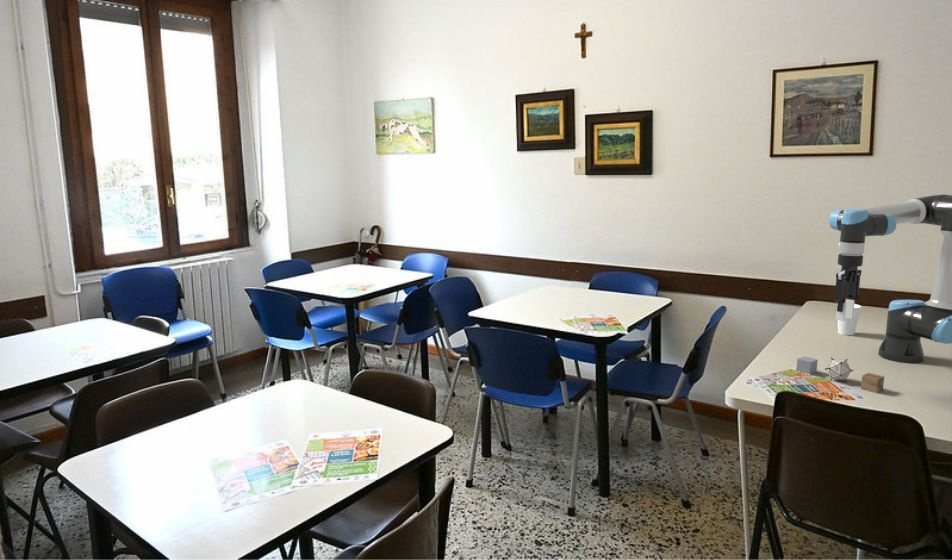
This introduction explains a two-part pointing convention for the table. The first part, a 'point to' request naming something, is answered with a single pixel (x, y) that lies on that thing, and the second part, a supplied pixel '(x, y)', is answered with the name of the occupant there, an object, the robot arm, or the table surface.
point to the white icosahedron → (838, 369)
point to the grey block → (807, 365)
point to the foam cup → (849, 322)
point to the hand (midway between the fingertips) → (844, 318)
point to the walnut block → (872, 382)
